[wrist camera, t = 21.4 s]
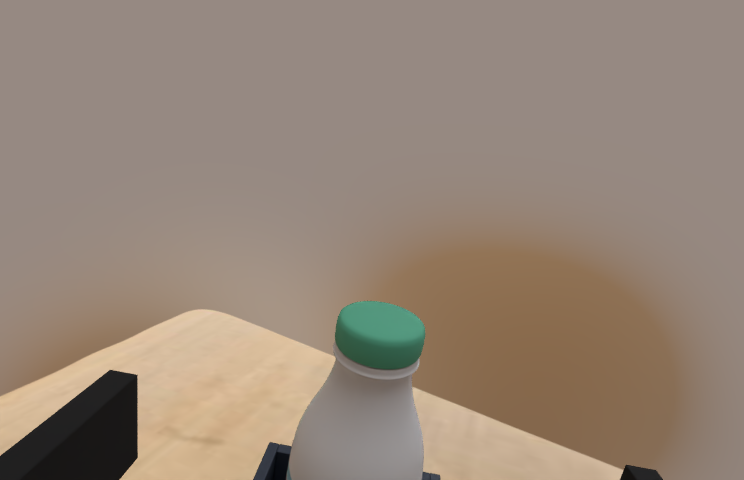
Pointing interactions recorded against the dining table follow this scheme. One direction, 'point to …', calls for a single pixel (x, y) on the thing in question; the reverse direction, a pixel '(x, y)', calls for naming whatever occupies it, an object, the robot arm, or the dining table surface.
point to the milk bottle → (365, 402)
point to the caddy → (277, 459)
